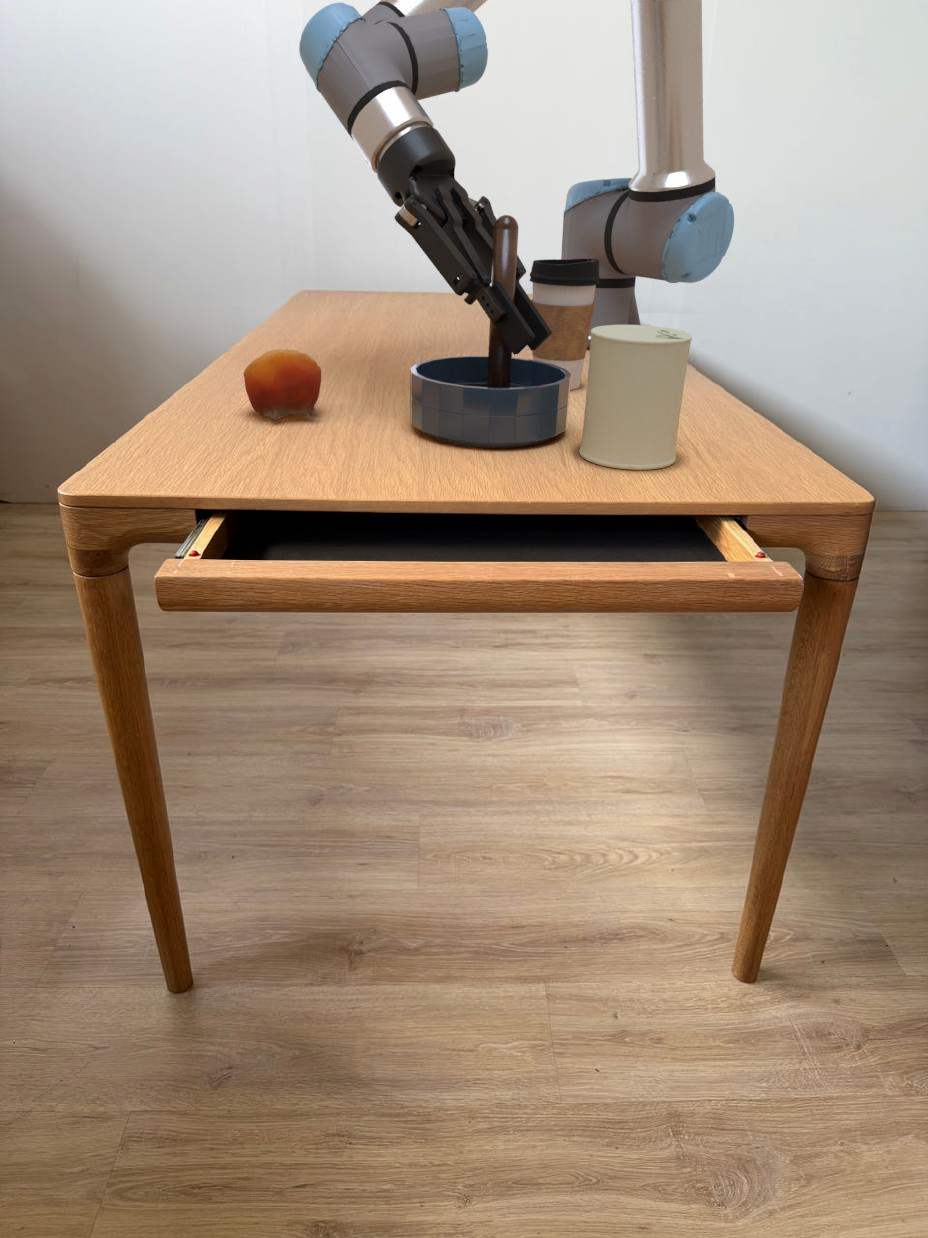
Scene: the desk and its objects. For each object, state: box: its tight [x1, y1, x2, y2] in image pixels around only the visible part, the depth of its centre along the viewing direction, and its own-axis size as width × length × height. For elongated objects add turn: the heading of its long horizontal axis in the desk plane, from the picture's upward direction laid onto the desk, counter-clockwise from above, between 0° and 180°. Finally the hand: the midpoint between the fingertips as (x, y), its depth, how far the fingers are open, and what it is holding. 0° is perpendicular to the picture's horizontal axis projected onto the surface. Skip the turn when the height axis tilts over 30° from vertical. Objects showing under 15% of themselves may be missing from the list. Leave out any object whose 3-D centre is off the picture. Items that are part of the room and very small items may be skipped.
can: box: [578, 324, 693, 471], centre depth 86 cm, size 9×9×12 cm
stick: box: [487, 214, 519, 388], centre depth 92 cm, size 5×5×19 cm
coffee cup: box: [529, 258, 600, 391], centre depth 113 cm, size 8×8×15 cm
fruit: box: [243, 348, 322, 422], centre depth 97 cm, size 8×8×8 cm
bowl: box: [409, 355, 571, 449], centre depth 95 cm, size 16×16×6 cm
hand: (533, 343), depth 91 cm, fingers closed on stick, 2 cm apart
